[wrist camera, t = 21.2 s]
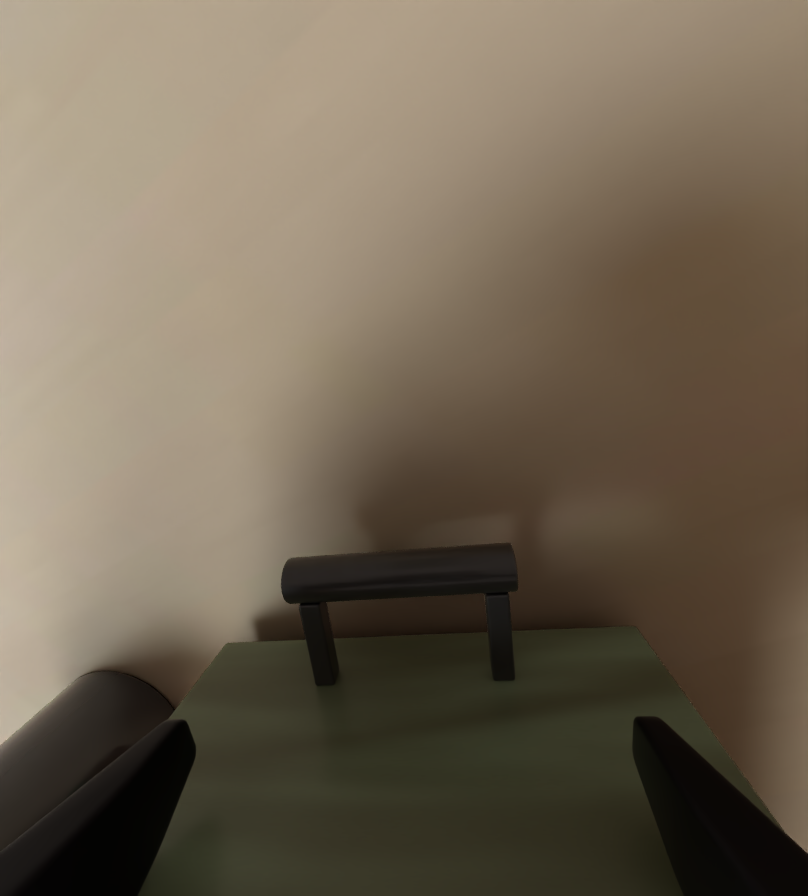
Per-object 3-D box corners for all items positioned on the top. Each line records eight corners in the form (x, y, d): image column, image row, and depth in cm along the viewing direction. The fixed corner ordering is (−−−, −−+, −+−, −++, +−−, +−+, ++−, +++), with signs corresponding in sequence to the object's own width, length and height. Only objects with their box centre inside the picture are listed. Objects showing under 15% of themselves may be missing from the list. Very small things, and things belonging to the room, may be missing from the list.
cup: (164, 668, 15) (-142, 1005, 7) (197, 776, 16) (-35, 1169, 8) (45, 672, 16) (-354, 984, 8) (85, 775, 17) (-227, 1137, 9)
